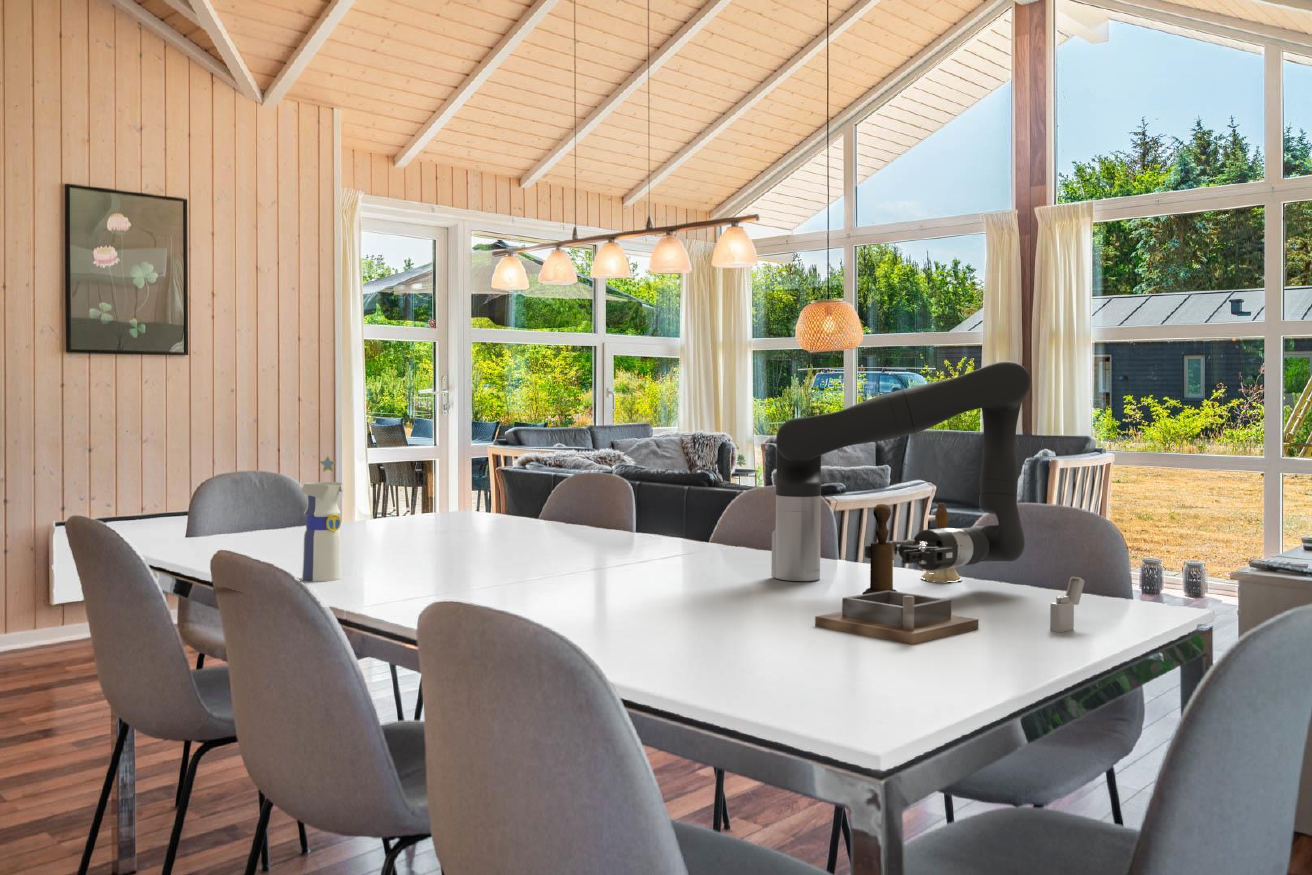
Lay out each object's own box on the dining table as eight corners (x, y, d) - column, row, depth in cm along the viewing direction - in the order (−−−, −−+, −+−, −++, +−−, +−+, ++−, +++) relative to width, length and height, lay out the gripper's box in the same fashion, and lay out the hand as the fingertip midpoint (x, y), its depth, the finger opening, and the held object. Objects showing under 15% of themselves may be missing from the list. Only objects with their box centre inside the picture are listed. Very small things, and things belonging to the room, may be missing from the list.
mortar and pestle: (898, 603, 186) (899, 503, 186) (902, 610, 180) (904, 505, 180) (860, 602, 187) (861, 502, 187) (863, 609, 180) (865, 505, 180)
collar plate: (815, 625, 165) (815, 584, 165) (883, 612, 177) (883, 574, 177) (911, 644, 152) (912, 599, 152) (978, 628, 164) (978, 587, 164)
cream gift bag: (354, 577, 212) (354, 454, 212) (320, 582, 205) (320, 455, 205) (326, 574, 217) (327, 454, 216) (292, 579, 210) (293, 454, 209)
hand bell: (961, 584, 210) (962, 505, 210) (919, 581, 213) (920, 503, 213) (963, 578, 218) (964, 502, 218) (922, 576, 221) (923, 501, 221)
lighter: (1059, 632, 161) (1060, 580, 161) (1049, 630, 163) (1050, 579, 163) (1084, 627, 166) (1084, 576, 166) (1074, 625, 167) (1074, 575, 167)
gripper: (912, 525, 199) (854, 530, 189) (975, 531, 188) (917, 537, 178) (911, 564, 199) (853, 571, 189) (975, 573, 188) (916, 581, 178)
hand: (884, 554), depth 184 cm, fingers open, 8 cm apart
